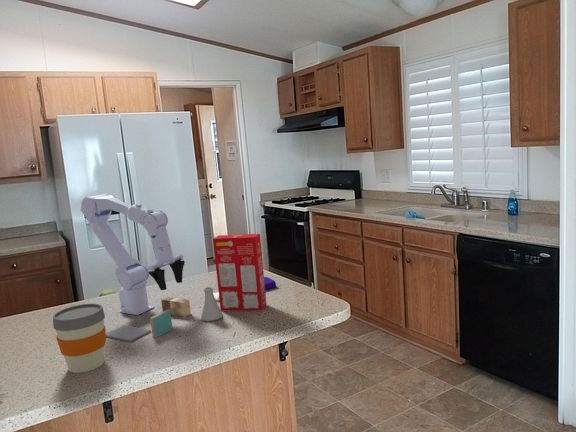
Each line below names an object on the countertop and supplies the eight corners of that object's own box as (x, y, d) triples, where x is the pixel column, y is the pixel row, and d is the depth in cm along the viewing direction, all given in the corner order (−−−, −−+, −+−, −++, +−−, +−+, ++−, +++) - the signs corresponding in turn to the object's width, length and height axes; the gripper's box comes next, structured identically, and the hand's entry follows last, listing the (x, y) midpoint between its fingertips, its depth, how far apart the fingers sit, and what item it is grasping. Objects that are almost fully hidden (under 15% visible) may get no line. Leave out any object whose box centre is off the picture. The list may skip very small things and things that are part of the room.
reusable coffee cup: (116, 364, 124) (109, 310, 121) (65, 381, 117) (56, 324, 114) (104, 350, 134) (97, 300, 132) (56, 364, 127) (48, 312, 125)
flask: (218, 322, 148) (215, 291, 147) (197, 322, 150) (193, 292, 148) (225, 313, 156) (222, 284, 154) (205, 313, 157) (202, 285, 155)
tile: (152, 336, 141) (149, 317, 140) (169, 327, 147) (166, 309, 146) (156, 337, 140) (153, 318, 139) (172, 328, 146) (170, 310, 145)
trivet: (103, 336, 144) (103, 334, 144) (124, 326, 151) (124, 325, 151) (130, 342, 138) (130, 340, 138) (151, 331, 145) (150, 330, 145)
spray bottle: (265, 275, 188) (207, 289, 176) (278, 281, 178) (217, 297, 167) (266, 282, 188) (208, 297, 177) (278, 288, 179) (218, 304, 167)
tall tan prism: (162, 313, 161) (161, 299, 160) (169, 310, 163) (167, 296, 162) (184, 317, 155) (182, 302, 155) (190, 313, 158) (189, 299, 157)
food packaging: (266, 305, 160) (259, 233, 157) (262, 310, 155) (255, 236, 152) (225, 305, 164) (218, 235, 160) (220, 310, 159) (212, 238, 155)
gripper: (154, 251, 149) (164, 292, 150) (185, 240, 161) (194, 278, 162) (139, 253, 152) (149, 293, 154) (170, 243, 165) (180, 280, 166)
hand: (171, 286), depth 158 cm, fingers open, 7 cm apart
